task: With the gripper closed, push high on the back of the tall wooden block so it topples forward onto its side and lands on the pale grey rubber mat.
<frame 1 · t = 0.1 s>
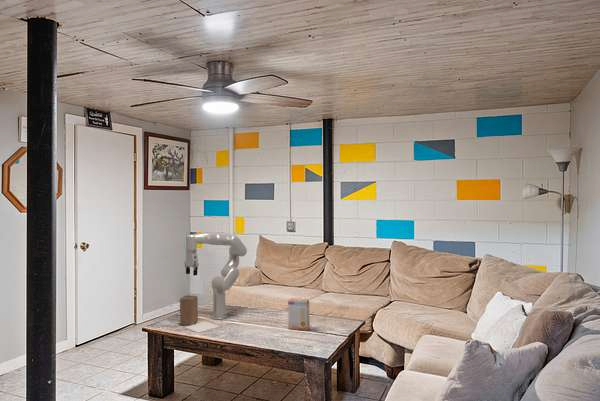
hand: (191, 274, 323), 37 cm above the table, tool pointing down, fingers open, 9 cm apart
cracker box: (299, 329, 308), on the table
wooden block: (189, 324, 324), on the table
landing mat: (202, 327, 314), on the table
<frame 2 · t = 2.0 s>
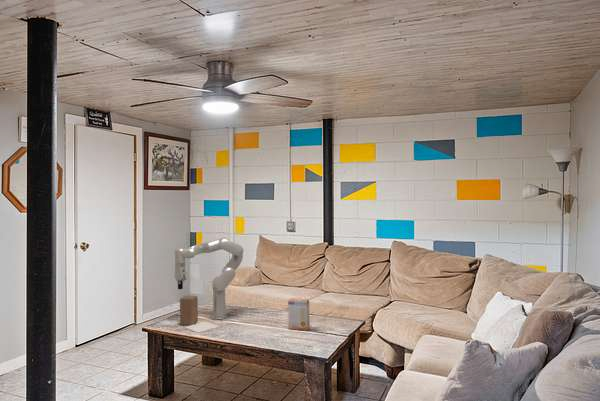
hand: (180, 288, 332), 24 cm above the table, tool pointing down, fingers closed
nothing on the table moved.
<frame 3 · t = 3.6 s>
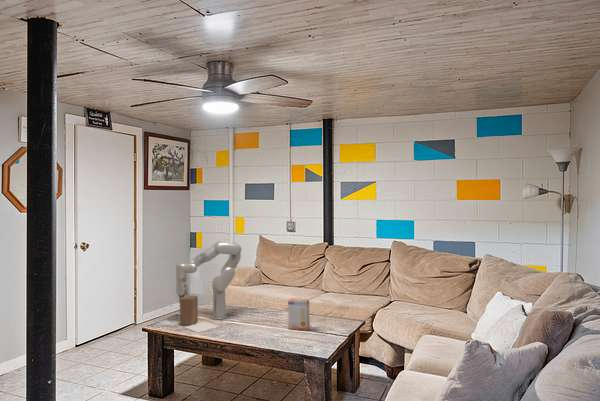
hand: (182, 304, 331), 13 cm above the table, tool pointing down, fingers closed
wooden block: (189, 323, 324), on the table, touching gripper
everything else where it was.
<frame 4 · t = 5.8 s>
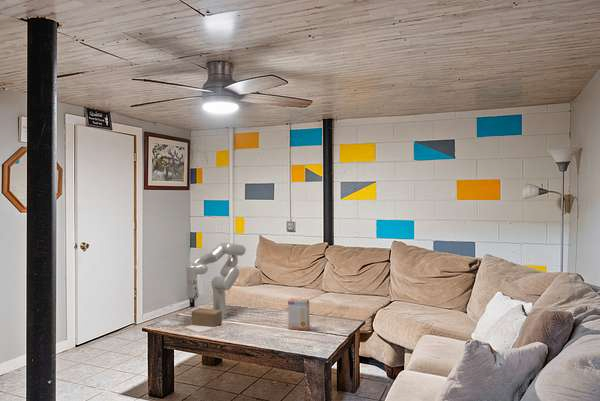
hand: (192, 307, 321), 13 cm above the table, tool pointing down, fingers closed
wooden block: (194, 316, 324), point 6 cm above the table, touching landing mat
everything else where it was.
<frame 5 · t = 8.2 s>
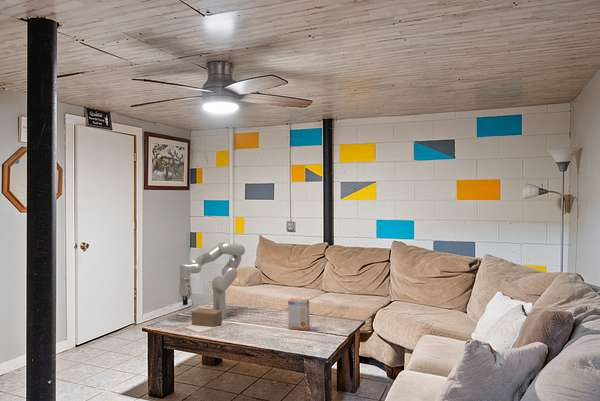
hand: (185, 304, 327), 13 cm above the table, tool pointing down, fingers closed
nothing on the table moved.
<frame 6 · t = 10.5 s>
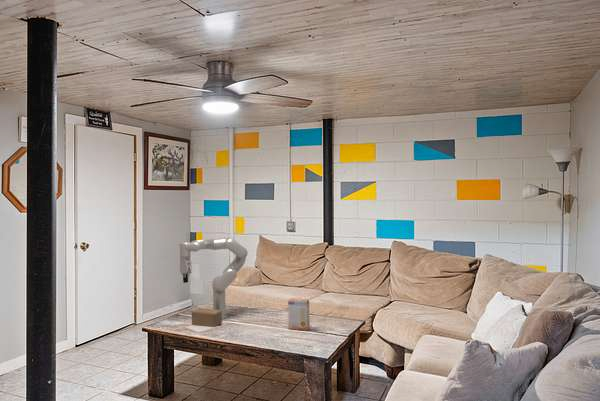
hand: (185, 282, 332), 29 cm above the table, tool pointing down, fingers closed
nothing on the table moved.
at the end: wooden block tilted 90°; wooden block inside the target area (6.0 cm from its centre), point 5.6 cm above the table; wooden block touching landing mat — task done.
